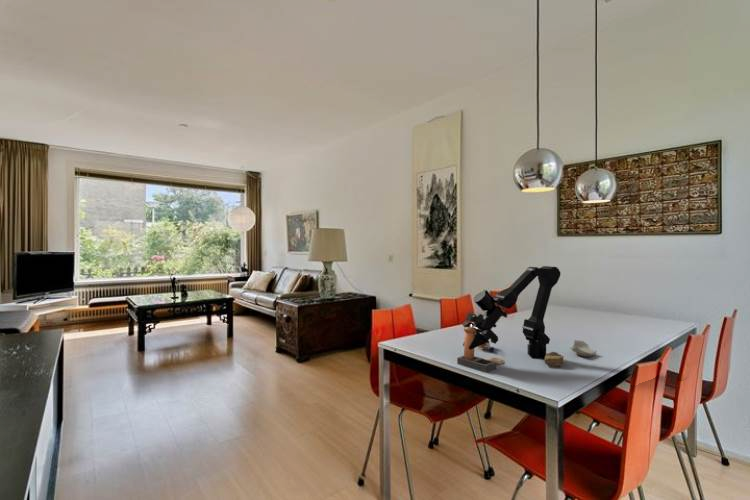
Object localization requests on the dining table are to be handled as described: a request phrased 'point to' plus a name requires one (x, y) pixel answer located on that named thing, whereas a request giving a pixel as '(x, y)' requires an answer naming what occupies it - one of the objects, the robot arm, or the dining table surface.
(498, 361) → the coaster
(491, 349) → the toy
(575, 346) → the pottery shard
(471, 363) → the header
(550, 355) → the stone
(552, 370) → the dining table surface
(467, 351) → the plug
